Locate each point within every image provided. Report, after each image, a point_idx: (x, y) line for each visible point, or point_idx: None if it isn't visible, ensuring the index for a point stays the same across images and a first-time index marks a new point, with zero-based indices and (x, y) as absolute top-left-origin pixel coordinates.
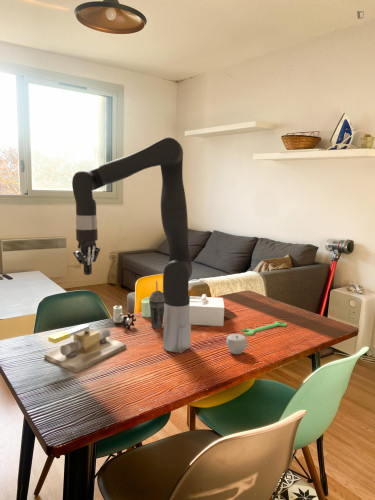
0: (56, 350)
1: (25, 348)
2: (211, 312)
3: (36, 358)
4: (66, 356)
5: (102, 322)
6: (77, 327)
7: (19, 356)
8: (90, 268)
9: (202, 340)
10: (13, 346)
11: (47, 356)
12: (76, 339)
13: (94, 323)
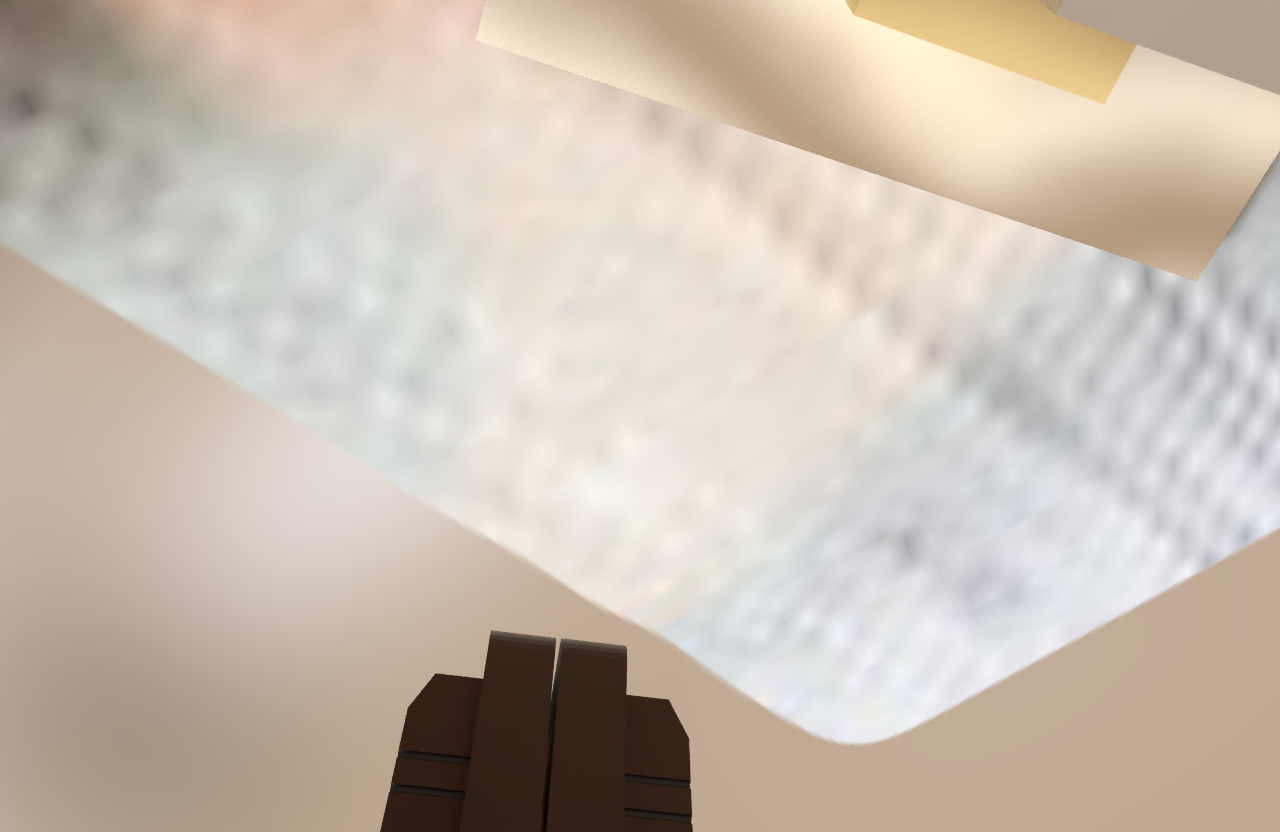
0: (1085, 216)
1: (982, 534)
2: None
3: (1183, 330)
4: None
5: (3, 183)
6: (1223, 42)
7: (1158, 485)
8: (530, 794)
9: None
10: (962, 637)
11: (1223, 229)
12: None
13: (95, 260)
